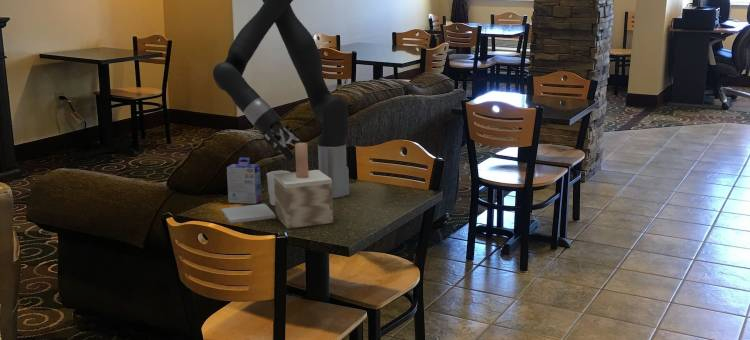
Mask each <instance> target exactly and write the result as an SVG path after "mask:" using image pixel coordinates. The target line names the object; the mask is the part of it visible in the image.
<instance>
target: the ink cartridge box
mask: <svg viewBox="0 0 750 340" xmlns="http://www.w3.org/2000/svg"><path fill="white" fill-rule="evenodd" d="M242 160H246V161H242ZM226 177H227V178H226V179H227V197H228V198H227V199H228V203H231V204H250V205H252V204H253V205H257V203H259V202H262V201H263V200H262V198H263V197H262V184H261V183H262V182H261V178H262V177H261V165H260V163H258V164H256V163H255V164H253V163H250V157H244V156H243V157H241V156H240V157H239V159H238V162H237V164H236V163H232V164H230V165H228V166H227V167H226Z"/></svg>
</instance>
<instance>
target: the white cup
mask: <svg viewBox="0 0 750 340" xmlns="http://www.w3.org/2000/svg"><path fill="white" fill-rule="evenodd" d="M281 173H291V171H289V170H274V171H270V172H269V171H268V172H267V173H266V179H267V180H266V181H267V190H268V197H269V204H270V205H271V206H273V207H274V206H275V188H274V174H281Z"/></svg>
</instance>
